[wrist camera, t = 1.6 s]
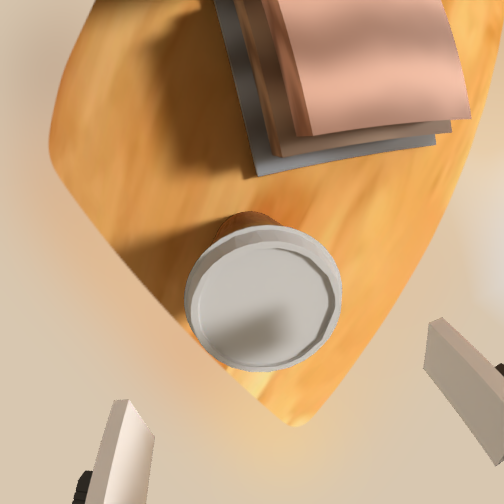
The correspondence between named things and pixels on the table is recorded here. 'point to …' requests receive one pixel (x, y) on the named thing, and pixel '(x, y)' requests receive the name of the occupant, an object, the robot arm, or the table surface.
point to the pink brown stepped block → (341, 77)
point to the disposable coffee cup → (262, 295)
